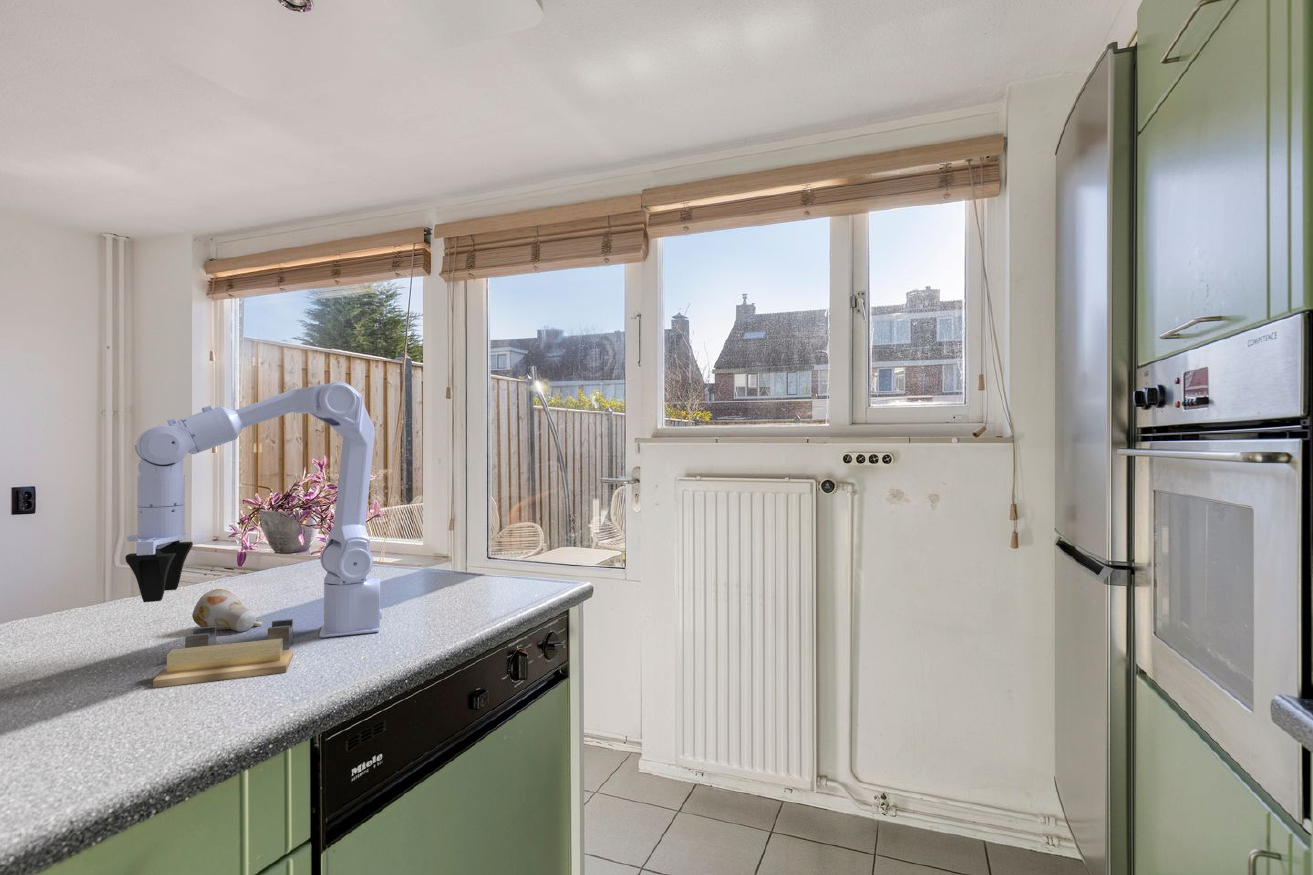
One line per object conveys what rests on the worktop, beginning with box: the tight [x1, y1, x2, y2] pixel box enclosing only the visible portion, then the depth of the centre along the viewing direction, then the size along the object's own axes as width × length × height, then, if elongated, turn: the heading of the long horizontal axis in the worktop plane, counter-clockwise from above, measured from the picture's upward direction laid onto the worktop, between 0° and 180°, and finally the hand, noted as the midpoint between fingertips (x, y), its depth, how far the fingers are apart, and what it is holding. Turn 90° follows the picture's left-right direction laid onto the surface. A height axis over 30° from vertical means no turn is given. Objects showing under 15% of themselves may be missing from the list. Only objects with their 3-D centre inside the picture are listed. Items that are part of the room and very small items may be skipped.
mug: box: [191, 588, 263, 633], centre depth 118 cm, size 8×10×10 cm
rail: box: [166, 638, 283, 673], centre depth 96 cm, size 14×3×3 cm, turn 113°
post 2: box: [267, 618, 294, 650], centre depth 108 cm, size 3×5×4 cm, turn 23°
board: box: [152, 648, 294, 689], centre depth 96 cm, size 16×8×1 cm, turn 113°
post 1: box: [184, 626, 217, 648], centre depth 104 cm, size 3×5×4 cm, turn 23°
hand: (160, 595), depth 99 cm, fingers open, 7 cm apart
